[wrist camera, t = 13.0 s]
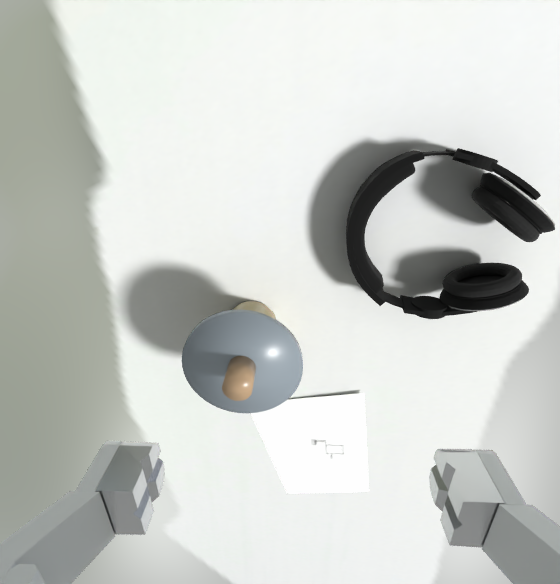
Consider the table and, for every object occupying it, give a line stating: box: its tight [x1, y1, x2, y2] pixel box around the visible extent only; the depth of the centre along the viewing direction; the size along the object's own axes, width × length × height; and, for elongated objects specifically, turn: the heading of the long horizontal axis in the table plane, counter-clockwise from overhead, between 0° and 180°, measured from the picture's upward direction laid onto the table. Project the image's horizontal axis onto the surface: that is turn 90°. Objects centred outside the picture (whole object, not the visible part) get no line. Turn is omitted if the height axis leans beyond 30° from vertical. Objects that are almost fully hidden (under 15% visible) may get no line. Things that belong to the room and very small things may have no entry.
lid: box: [182, 309, 303, 413], centre depth 38 cm, size 13×13×4 cm
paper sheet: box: [250, 393, 369, 494], centre depth 58 cm, size 24×29×1 cm
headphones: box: [346, 148, 555, 319], centre depth 39 cm, size 18×8×20 cm
